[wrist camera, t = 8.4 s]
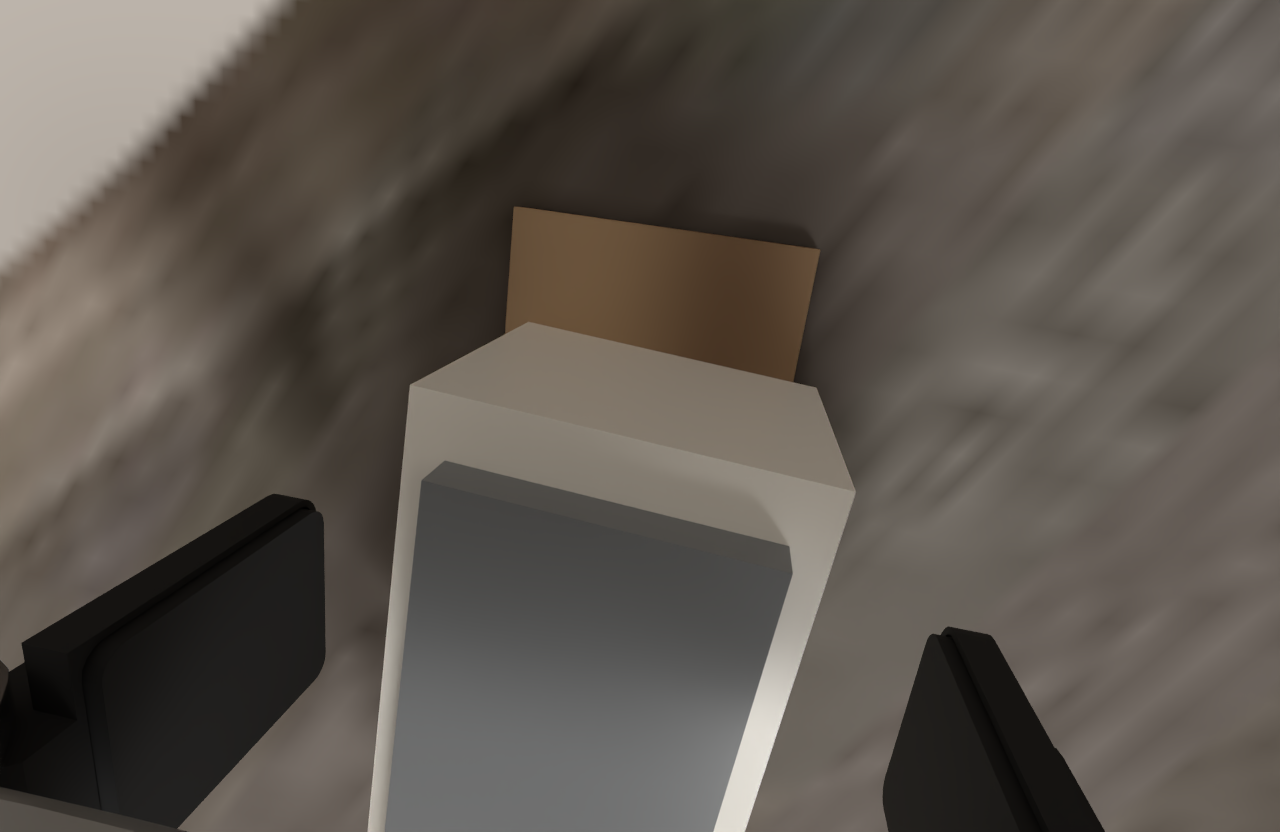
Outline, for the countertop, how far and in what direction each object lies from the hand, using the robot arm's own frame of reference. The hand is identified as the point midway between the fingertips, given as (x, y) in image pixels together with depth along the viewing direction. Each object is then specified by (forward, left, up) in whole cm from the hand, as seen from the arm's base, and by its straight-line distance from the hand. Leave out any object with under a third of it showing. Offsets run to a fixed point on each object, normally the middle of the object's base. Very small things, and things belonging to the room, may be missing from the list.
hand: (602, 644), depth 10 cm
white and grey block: (0, 0, -3) cm, 3 cm away
